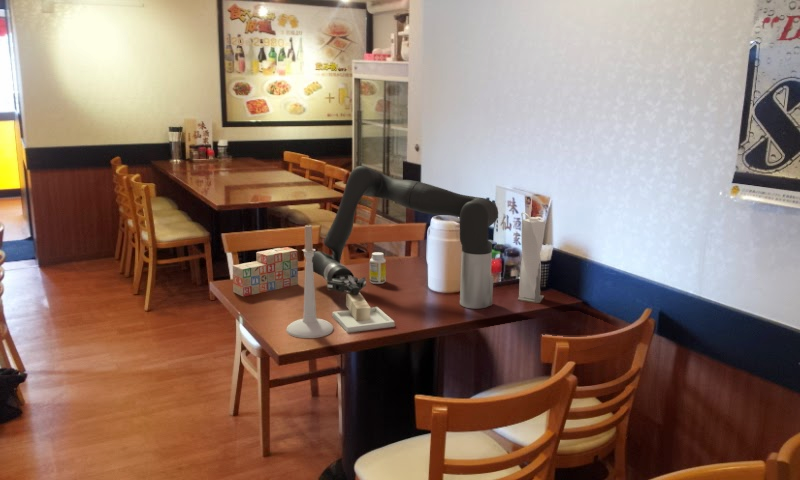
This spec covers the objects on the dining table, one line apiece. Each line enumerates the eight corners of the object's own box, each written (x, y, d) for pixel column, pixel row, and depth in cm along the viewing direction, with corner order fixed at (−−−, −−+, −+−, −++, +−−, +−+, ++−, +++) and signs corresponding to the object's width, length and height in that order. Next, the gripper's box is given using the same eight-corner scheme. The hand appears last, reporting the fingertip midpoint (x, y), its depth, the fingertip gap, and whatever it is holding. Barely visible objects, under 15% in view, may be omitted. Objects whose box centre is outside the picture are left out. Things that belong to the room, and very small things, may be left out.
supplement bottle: (384, 279, 237) (384, 251, 235) (386, 284, 232) (387, 255, 230) (368, 280, 236) (368, 251, 234) (370, 284, 231) (370, 255, 229)
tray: (377, 311, 204) (377, 306, 204) (394, 326, 191) (394, 321, 191) (332, 316, 199) (332, 311, 198) (347, 332, 186) (347, 327, 186)
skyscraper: (513, 299, 217) (517, 214, 211) (518, 292, 225) (523, 209, 218) (539, 303, 214) (545, 216, 208) (544, 296, 222) (549, 212, 215)
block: (359, 291, 203) (370, 307, 194) (358, 303, 204) (369, 319, 196) (346, 293, 201) (357, 308, 193) (345, 305, 203) (356, 321, 194)
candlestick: (335, 336, 183) (335, 228, 176) (287, 339, 181) (285, 229, 174) (330, 320, 195) (329, 218, 189) (285, 323, 193) (283, 220, 186)
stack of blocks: (243, 297, 216) (241, 260, 213) (233, 292, 220) (231, 256, 217) (298, 284, 230) (297, 249, 227) (287, 280, 235) (287, 246, 232)
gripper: (317, 266, 212) (334, 281, 196) (358, 263, 216) (377, 277, 201) (318, 289, 213) (334, 306, 198) (358, 285, 218) (376, 301, 202)
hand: (355, 291), depth 199 cm, fingers closed
